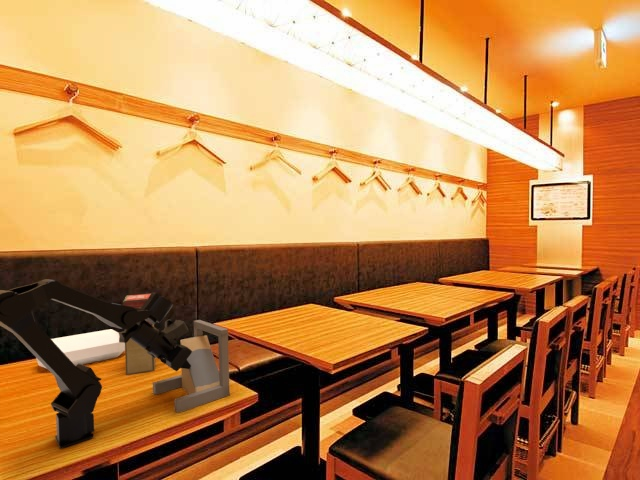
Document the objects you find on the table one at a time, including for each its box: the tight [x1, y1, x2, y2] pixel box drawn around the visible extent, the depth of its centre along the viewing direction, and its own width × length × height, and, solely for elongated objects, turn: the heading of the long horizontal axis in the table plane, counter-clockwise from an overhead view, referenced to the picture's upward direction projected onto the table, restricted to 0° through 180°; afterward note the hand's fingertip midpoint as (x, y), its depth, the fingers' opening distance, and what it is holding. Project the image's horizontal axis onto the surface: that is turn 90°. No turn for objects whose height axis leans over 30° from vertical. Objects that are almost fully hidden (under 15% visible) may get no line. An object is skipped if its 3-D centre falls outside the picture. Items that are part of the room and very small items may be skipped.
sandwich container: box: [179, 334, 220, 395], centre depth 111 cm, size 9×15×15 cm, turn 39°
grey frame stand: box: [152, 319, 230, 414], centre depth 109 cm, size 15×18×19 cm
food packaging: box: [122, 293, 156, 376], centre depth 133 cm, size 13×9×25 cm
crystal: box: [35, 328, 125, 370], centre depth 141 cm, size 14×10×28 cm
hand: (189, 367), depth 109 cm, fingers closed
